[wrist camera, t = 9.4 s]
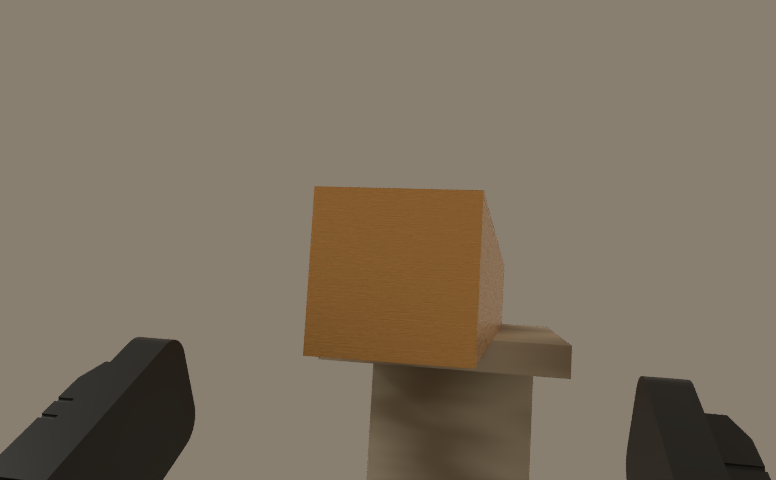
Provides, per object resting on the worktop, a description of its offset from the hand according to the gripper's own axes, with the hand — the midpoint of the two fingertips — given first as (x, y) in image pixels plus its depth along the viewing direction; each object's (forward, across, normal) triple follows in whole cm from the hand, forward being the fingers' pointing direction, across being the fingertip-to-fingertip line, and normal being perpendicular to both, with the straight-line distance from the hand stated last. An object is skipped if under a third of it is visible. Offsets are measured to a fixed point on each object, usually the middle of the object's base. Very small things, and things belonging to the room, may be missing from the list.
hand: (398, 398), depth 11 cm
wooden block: (+11, 0, -6) cm, 12 cm away
